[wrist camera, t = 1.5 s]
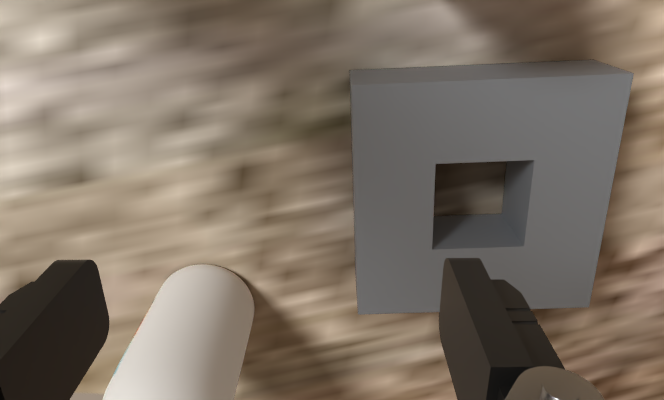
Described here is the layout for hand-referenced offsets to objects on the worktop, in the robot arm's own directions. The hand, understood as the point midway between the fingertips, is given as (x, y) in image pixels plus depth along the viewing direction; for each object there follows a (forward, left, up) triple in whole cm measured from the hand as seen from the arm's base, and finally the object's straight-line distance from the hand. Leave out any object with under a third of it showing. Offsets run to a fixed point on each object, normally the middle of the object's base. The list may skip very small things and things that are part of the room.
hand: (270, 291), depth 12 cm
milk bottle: (+17, -10, -25) cm, 32 cm away
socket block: (+7, +10, -25) cm, 28 cm away
